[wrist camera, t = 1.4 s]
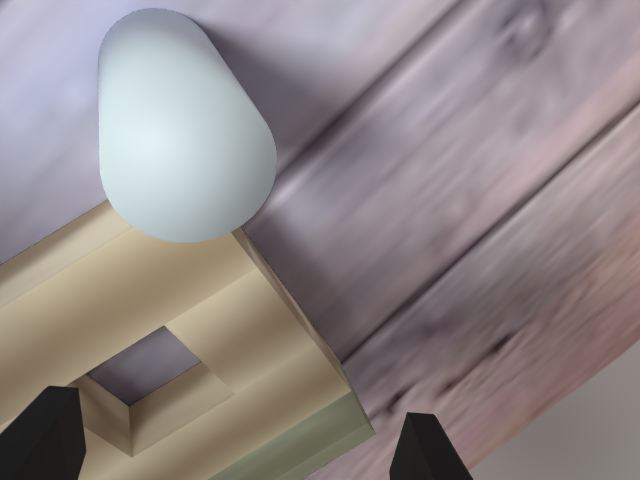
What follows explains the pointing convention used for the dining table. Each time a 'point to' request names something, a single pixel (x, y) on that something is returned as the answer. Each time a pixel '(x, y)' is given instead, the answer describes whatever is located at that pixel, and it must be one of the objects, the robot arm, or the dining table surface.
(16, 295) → the socket block
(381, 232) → the dining table surface
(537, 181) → the dining table surface
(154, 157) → the peg
